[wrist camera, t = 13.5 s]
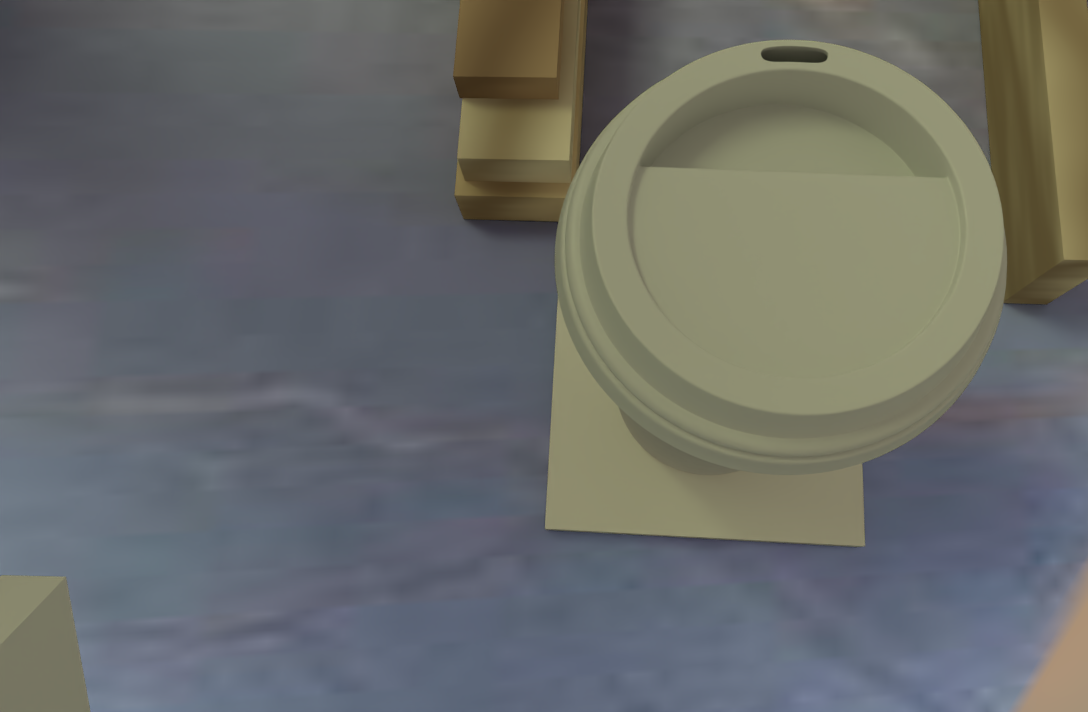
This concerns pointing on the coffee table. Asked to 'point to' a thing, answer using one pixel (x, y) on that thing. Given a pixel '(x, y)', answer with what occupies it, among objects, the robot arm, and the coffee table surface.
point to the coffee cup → (782, 260)
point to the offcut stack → (518, 106)
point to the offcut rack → (1039, 140)
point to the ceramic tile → (676, 480)
